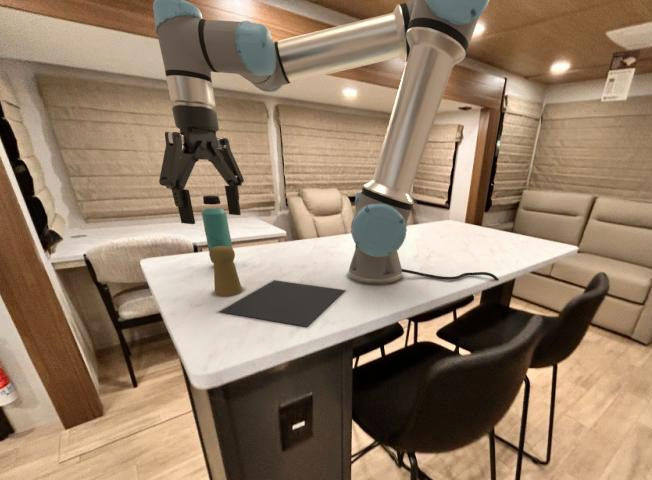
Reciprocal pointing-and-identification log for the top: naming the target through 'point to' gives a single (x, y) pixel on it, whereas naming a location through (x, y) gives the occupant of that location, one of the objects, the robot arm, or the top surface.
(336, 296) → the felt mat
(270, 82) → the robot arm
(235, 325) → the top surface
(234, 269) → the cork
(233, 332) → the top surface
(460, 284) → the top surface
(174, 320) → the top surface
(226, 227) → the beverage bottle
